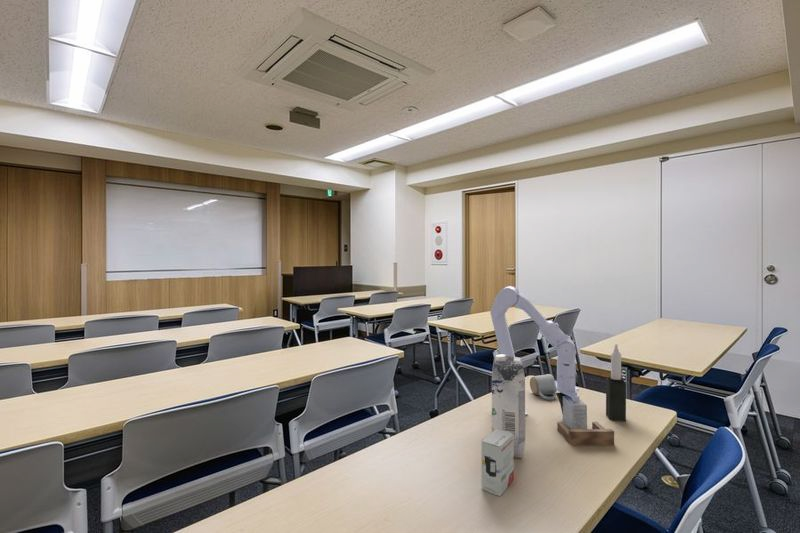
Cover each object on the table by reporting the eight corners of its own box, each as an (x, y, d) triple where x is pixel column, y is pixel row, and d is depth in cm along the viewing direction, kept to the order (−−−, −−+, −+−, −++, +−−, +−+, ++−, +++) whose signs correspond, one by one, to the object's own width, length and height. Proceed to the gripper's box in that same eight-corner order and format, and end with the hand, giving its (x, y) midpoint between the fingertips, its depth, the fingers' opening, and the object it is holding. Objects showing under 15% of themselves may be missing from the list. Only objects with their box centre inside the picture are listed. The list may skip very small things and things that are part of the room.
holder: (570, 445, 108) (571, 431, 108) (557, 429, 117) (557, 417, 117) (614, 445, 108) (614, 431, 108) (597, 429, 117) (597, 417, 117)
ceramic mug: (528, 391, 151) (528, 372, 151) (547, 390, 152) (547, 371, 152) (541, 401, 141) (541, 381, 140) (561, 400, 141) (561, 380, 141)
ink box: (496, 472, 95) (496, 426, 95) (514, 479, 92) (514, 432, 92) (480, 489, 88) (480, 440, 88) (500, 497, 85) (499, 446, 85)
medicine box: (587, 432, 116) (587, 405, 115) (573, 432, 116) (573, 405, 115) (575, 421, 123) (575, 395, 123) (562, 421, 123) (562, 395, 123)
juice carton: (523, 442, 110) (523, 351, 109) (525, 461, 100) (525, 361, 99) (492, 438, 112) (492, 349, 112) (491, 456, 102) (491, 359, 101)
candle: (627, 421, 123) (627, 346, 122) (610, 420, 124) (610, 345, 123) (621, 415, 128) (621, 342, 127) (604, 413, 129) (605, 342, 128)
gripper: (588, 382, 118) (588, 424, 118) (568, 368, 132) (568, 406, 133) (566, 382, 118) (566, 424, 118) (548, 368, 132) (548, 406, 133)
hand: (566, 415), depth 125 cm, fingers closed
